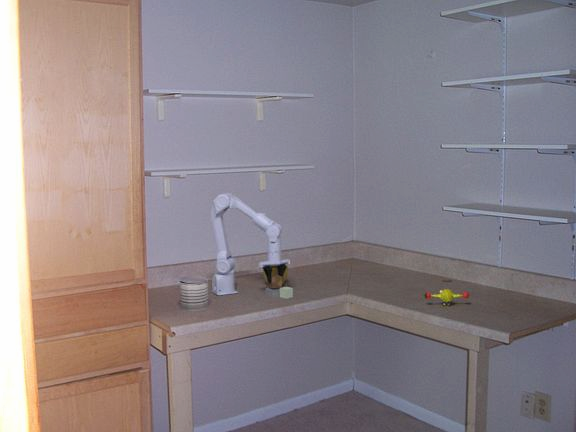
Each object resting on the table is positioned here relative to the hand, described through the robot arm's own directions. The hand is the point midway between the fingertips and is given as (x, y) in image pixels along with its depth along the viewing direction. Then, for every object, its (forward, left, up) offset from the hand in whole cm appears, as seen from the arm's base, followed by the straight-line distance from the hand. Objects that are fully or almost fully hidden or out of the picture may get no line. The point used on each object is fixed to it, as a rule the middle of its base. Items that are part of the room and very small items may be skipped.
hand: (274, 282), depth 275 cm
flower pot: (+9, +17, -6) cm, 20 cm away
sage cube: (+3, -6, -6) cm, 9 cm away
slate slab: (0, 0, -6) cm, 6 cm away
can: (-38, -3, -6) cm, 39 cm away
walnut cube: (0, 0, -2) cm, 2 cm away
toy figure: (+52, -51, -6) cm, 73 cm away
